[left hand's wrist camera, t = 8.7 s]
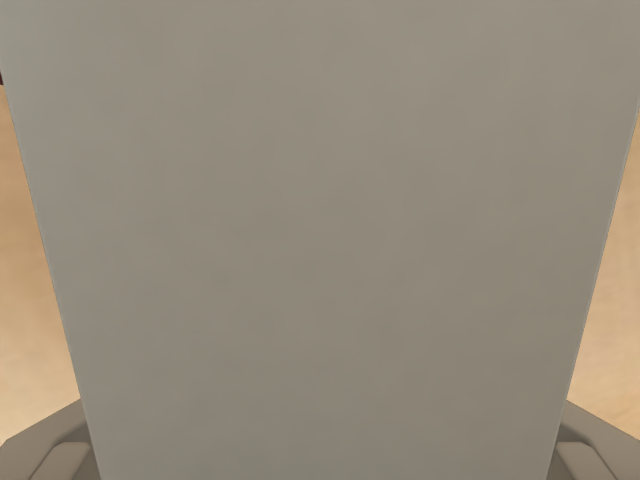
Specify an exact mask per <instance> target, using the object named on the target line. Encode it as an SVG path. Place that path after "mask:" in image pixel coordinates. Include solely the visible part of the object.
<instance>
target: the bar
mask: <svg viewBox="0 0 640 480" xmlns="http://www.w3.org/2000/svg"><path fill="white" fill-rule="evenodd" d="M0 72H1V76H2V80H3V84H4V88H5V92H6V96H7V100H8V104H9V108H10V112H11V116H12V121H13V125H14V129H15V133H16V137H17V141H18V145H19V149H20V153H21V157H22V161H23V165H24V169H25V173H26V177H27V181H28V185H29V190H30V194H31V198H32V202H33V206H34V210H35V214H36V218H37V222H38V226H39V230H40V234H41V238H42V242H43V246H44V250H45V254H46V259H47V263H48V267H49V271H50V275H51V279H52V283H53V287H54V291H55V295H56V299H57V303H58V307H59V311H60V315H61V319H62V323H63V327H64V332H65V336H66V340H67V344H68V348H69V352H70V356H71V360H72V364H73V368H74V372H75V376H76V380H77V384H78V388H79V392H80V396H81V401H82V405H83V409H84V413H85V417H86V421H87V425H88V429H89V433H90V437H91V441H92V445H93V449H94V453H95V457H96V461H97V465H98V469H99V474H100V478H101V480H546V477H547V473H548V470H549V466H550V462H551V458H552V454H553V450H554V446H555V442H556V438H557V434H558V430H559V426H560V422H561V418H562V414H563V410H564V406H565V402H566V398H567V394H568V390H569V386H570V382H571V378H572V374H573V370H574V366H575V362H576V358H577V354H578V350H579V346H580V342H581V339H582V335H583V331H584V327H585V323H586V319H587V315H588V311H589V307H590V303H591V299H592V295H593V291H594V287H595V283H596V279H597V275H598V271H599V267H600V263H601V259H602V255H603V251H604V247H605V243H606V239H607V235H608V231H609V227H610V223H611V219H612V215H613V211H614V208H615V204H616V200H617V196H618V192H619V188H620V184H621V180H622V176H623V172H624V168H625V164H626V160H627V156H628V152H629V148H630V144H631V140H632V136H633V132H634V128H635V124H636V120H637V116H638V112H639V108H640V0H0Z"/></svg>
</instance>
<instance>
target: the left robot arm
mask: <svg viewBox="0 0 640 480" xmlns="http://www.w3.org/2000/svg"><path fill="white" fill-rule="evenodd" d="M0 480H101V478H100V474H99V469H98V465H97V461H96V457H95V453H94V449H93V445H92V441H91V437H90V433H89V429H88V425H87V421H86V417H85V413H84V409H83V405H82V401H81V399H79V400H77V401H75V402H73V403H72V404H70V405H68V406H66V407H65V408H63V409H61V410H59V411H57V412H56V413H54V414H52V415H50V416H48V417H47V418H45V419H43V420H41V421H40V422H38V423H36V424H34V425H32V426H31V427H29V428H27V429H25V430H24V431H22V432H20V433H18V434H16V435H15V436H13V437H11V438H9V439H8V440H6V441H5V442H4V444H3V445H2V446H1V447H0ZM546 480H640V441H639V440H638V439H636V438H634V437H632V436H630V435H629V434H627V433H625V432H623V431H622V430H620V429H618V428H616V427H614V426H613V425H611V424H609V423H607V422H605V421H604V420H602V419H600V418H598V417H596V416H595V415H593V414H591V413H589V412H587V411H586V410H584V409H582V408H580V407H579V406H577V405H575V404H573V403H571V402H570V401H568V400H566V402H565V406H564V410H563V414H562V418H561V422H560V426H559V430H558V434H557V438H556V442H555V446H554V450H553V454H552V458H551V462H550V466H549V470H548V473H547V477H546Z"/></svg>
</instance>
